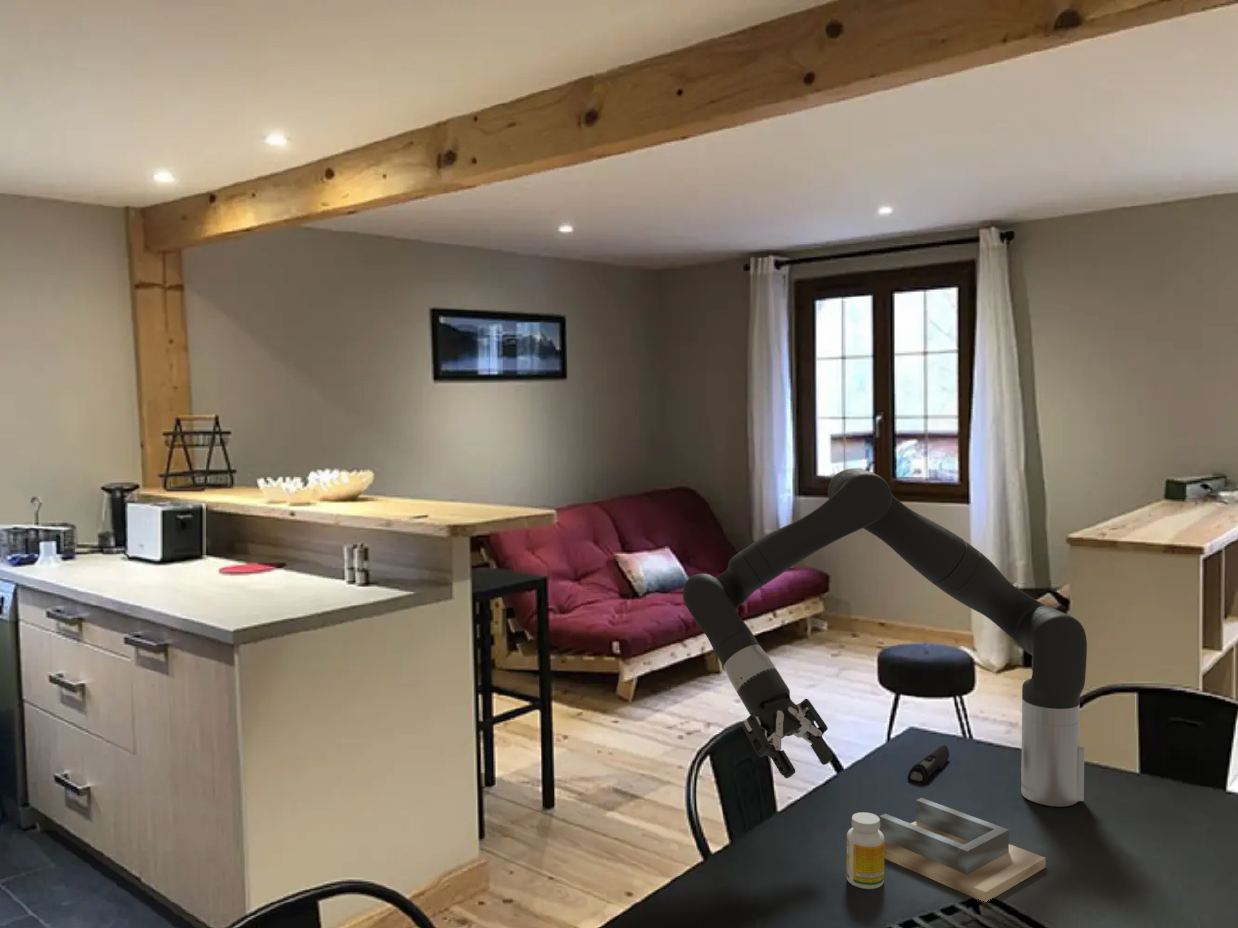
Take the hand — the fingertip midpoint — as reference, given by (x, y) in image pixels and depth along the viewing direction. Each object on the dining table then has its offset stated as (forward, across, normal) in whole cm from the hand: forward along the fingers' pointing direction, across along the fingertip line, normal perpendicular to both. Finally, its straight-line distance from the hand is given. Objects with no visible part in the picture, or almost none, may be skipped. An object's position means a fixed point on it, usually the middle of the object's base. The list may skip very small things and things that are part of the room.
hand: (810, 768), depth 151 cm
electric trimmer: (+4, +43, +16) cm, 46 cm away
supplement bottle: (+17, 0, +2) cm, 18 cm away
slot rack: (+20, +16, -1) cm, 26 cm away
